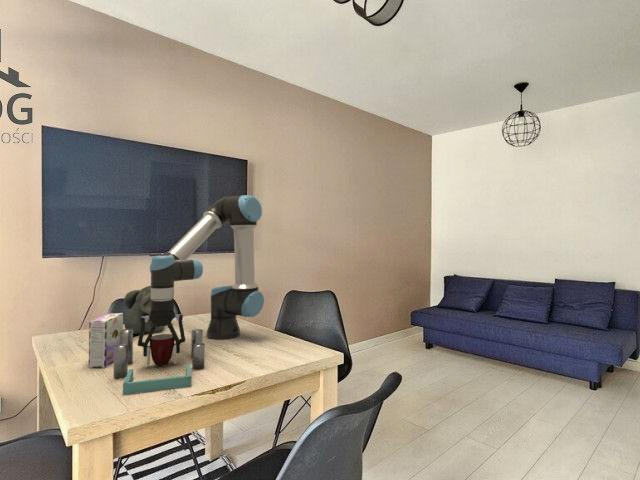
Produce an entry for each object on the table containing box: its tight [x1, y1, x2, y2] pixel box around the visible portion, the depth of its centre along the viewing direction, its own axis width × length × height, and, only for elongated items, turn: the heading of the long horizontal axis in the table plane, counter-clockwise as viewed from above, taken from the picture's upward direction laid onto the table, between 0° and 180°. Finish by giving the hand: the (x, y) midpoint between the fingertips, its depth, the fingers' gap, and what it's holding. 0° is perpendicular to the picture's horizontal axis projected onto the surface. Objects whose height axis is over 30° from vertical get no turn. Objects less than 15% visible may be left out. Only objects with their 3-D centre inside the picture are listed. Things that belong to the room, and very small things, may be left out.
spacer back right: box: [120, 328, 134, 366], centre depth 130 cm, size 4×4×12 cm
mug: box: [149, 333, 175, 368], centre depth 128 cm, size 11×8×10 cm
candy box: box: [88, 312, 124, 369], centre depth 132 cm, size 14×6×16 cm, turn 5°
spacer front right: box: [113, 344, 129, 380], centre depth 118 cm, size 4×4×10 cm
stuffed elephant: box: [123, 285, 166, 335], centre depth 177 cm, size 19×21×27 cm
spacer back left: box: [190, 328, 204, 358], centre depth 139 cm, size 4×4×10 cm
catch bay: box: [122, 362, 192, 396], centre depth 113 cm, size 18×13×3 cm
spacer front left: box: [191, 342, 206, 371], centre depth 126 cm, size 4×4×8 cm
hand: (161, 363), depth 128 cm, fingers closed on mug, 8 cm apart
